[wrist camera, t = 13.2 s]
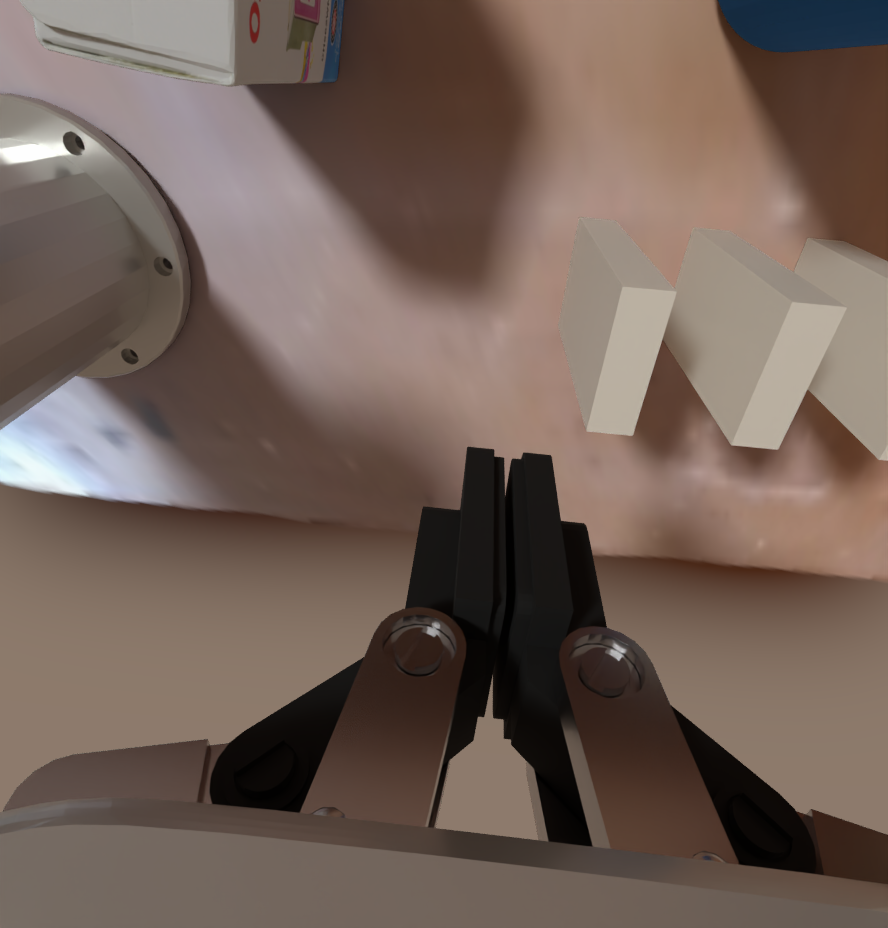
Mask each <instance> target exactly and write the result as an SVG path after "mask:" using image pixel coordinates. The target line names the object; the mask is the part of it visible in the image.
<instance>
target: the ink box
mask: <svg viewBox="0 0 888 928" xmlns="http://www.w3.org/2000/svg"><path fill="white" fill-rule="evenodd" d="M20 2H21V4H22V5H23V6H24V8H25V9H26V10H27V11H28V12H29V13H30V14H31V15H32V16H33V18H34V26H35V33H36V37H37V39H38V40H39V42H40V43H41V45H42V46H43V47H44V48H46V49H48V50H51V51H55V52H59V53H63V54H67V55H71V56H75V57H79V58H83V59H88V60H92V61H96V62H101V63H105V64H109V65H114V66H119V67H123V68H128V69H133V70H137V71H142V72H147V73H152V74H156V75H161V76H166V77H171V78H176V79H183V80H189V81H196V82H203V83H210V84H218V85H222V86H239V85H248V84H281V83H293V84H296V83H321V82H335V81H336V80H337V78H338V67H339V57H340V46H341V35H342V22H343V11H344V0H20Z"/></svg>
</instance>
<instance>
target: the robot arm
mask: <svg viewBox="0 0 888 928" xmlns="http://www.w3.org/2000/svg"><path fill="white" fill-rule="evenodd" d="M82 141H83V143H84V145H83V143H82ZM168 260H169V261H170V262H171V265H172V266H171V265H170V264H169V262H168ZM190 289H191V278H190V271H189V264H188V256H187V253H186V250H185V247H184V244H183V240H182V237H181V234H180V231H179V228H178V226H177V224H176V222H175V220H174V218H173V216H172V214H171V212H170V210H169V208H168V206H167V204H166V202H165V201H164V199H163V198H162V196H161V195H160V193H159V192H158V190H157V189H156V188H155V186H154V185H153V183H152V182H151V180H150V179H149V177H148V176H147V175H146V174H145V172H144V171H143V170H142V169H141V168H140V167H139V166H138V165H137V164H136V163H135V161H134V160H133V159H132V158H131V157H130V156H129V155H128V154H127V153H126V152H125V150H123V149H122V148H121V147H120V146H118V145H117V144H116V143H115V142H114V141H112V140H111V139H110V138H109V137H108V136H106V135H105V134H104V133H103V132H102V131H100V130H99V129H98V128H96V127H95V126H93V125H91V124H90V123H88V122H86V121H85V120H83V119H81V118H80V117H78V116H77V115H75V114H73V113H72V112H70V111H68V110H65V109H63V108H60V107H58V106H55V105H53V104H50V103H48V102H45V101H43V100H40V99H36V98H31V97H26V96H21V95H16V94H11V93H10V94H0V430H1V429H3V428H4V427H5V426H7V425H8V424H9V423H11V422H12V421H14V420H15V419H16V418H18V417H19V416H21V415H22V414H23V413H25V412H26V411H27V410H29V409H30V408H32V407H33V406H34V405H36V404H37V403H39V402H40V401H41V400H43V399H44V398H45V397H47V396H48V395H50V394H51V393H52V392H54V391H55V390H57V389H58V388H59V387H61V386H62V385H63V384H65V383H66V382H68V381H69V380H70V379H72V378H73V377H75V376H80V377H85V378H110V377H116V376H121V375H126V374H130V373H132V372H134V371H137V370H139V369H141V368H143V367H146V366H147V365H148V364H150V363H151V362H152V361H154V360H155V359H156V358H158V357H159V356H160V355H161V354H162V353H163V352H164V351H165V350H166V349H167V348H168V347H169V346H170V345H171V344H172V343H173V342H174V341H175V339H176V338H177V336H178V334H179V332H180V331H181V329H182V327H183V325H184V323H185V319H186V316H187V312H188V309H189V305H190ZM492 675H493V718H496V719H504V739H511V745H512V746H513V747H514V748H515V749H516V750H517V751H518V752H519V753H520V755H521V756H522V757H523V758H524V759H525V760H526V761H527V763H526V771H527V780H528V786H529V791H530V796H531V802H532V807H533V812H534V818H535V823H536V828H537V834H538V839H539V840H530V839H522V838H514V837H505V836H496V835H488V834H480V833H471V832H463V831H454V830H446V829H437V828H436V823H437V819H438V815H439V811H440V806H441V802H442V797H443V792H444V788H445V784H446V779H447V775H448V770H449V765H450V759H452V758H453V757H454V756H455V755H456V754H458V753H459V752H460V751H461V750H462V749H464V748H465V747H466V746H467V745H468V744H470V743H471V742H472V741H473V740H474V734H475V729H476V724H477V718H478V717H484V715H485V711H486V706H487V700H488V695H489V690H490V685H491V680H492ZM0 928H888V835H887V834H883V833H881V832H878V831H875V830H872V829H869V828H866V827H863V826H860V825H857V824H854V823H851V822H848V821H845V820H842V819H839V818H837V817H833V816H831V815H828V814H824V813H822V812H819V811H816V810H813V809H811V810H810V811H809V812H808V813H807V814H803V813H800V812H797V811H795V809H794V808H793V807H792V806H791V805H790V804H789V803H788V802H787V801H786V800H785V799H784V798H783V797H782V796H781V795H780V794H779V793H778V792H776V791H775V790H774V789H773V788H771V787H770V786H769V785H768V784H767V783H765V782H764V781H763V780H762V779H760V778H759V777H758V776H756V774H754V773H753V772H752V771H751V770H749V769H748V768H747V767H746V766H744V765H743V764H742V763H741V762H740V761H738V760H737V759H736V758H735V757H733V756H732V755H731V754H730V753H729V752H727V751H726V750H725V749H724V748H723V747H721V746H720V745H719V744H718V743H716V742H715V741H714V740H713V739H712V738H710V737H709V736H708V735H706V734H705V733H704V732H703V731H702V730H701V729H699V728H698V727H697V726H695V725H694V724H693V723H692V722H691V721H689V720H688V719H687V718H686V717H684V716H683V715H682V714H681V713H680V712H678V711H677V710H676V709H675V708H673V707H672V706H671V705H670V703H669V701H668V698H667V696H666V694H665V692H664V689H663V687H662V684H661V682H660V680H659V677H658V675H657V673H656V670H655V668H654V666H653V664H652V662H651V660H650V659H649V657H648V655H647V654H646V652H645V651H644V650H643V649H642V648H641V647H640V646H639V645H638V644H637V643H636V642H635V641H633V640H632V639H630V638H629V637H627V636H625V635H624V634H622V633H620V632H617V631H614V630H612V629H609V628H607V626H606V621H605V616H604V611H603V606H602V601H601V596H600V591H599V586H598V581H597V576H596V571H595V566H594V561H593V556H592V550H591V545H590V540H589V535H588V531H587V527H586V525H585V524H584V523H575V522H565V521H561V519H560V512H559V505H558V498H557V491H556V484H555V477H554V470H553V463H552V457H551V455H543V454H533V453H523V455H522V459H512V461H511V465H510V471H509V477H508V483H507V489H506V495H505V475H504V458H502V457H494V449H485V448H475V447H467V454H466V463H465V472H464V481H463V489H462V498H461V507H460V510H451V509H442V508H432V507H423V509H422V515H421V520H420V526H419V532H418V538H417V543H416V549H415V555H414V561H413V567H412V572H411V578H410V584H409V590H408V595H407V601H406V607H405V609H402V610H400V611H398V612H395V613H393V614H391V615H389V616H388V617H387V618H386V619H385V620H383V621H382V622H381V623H380V625H379V626H378V628H377V629H376V631H375V633H374V635H373V637H372V639H371V642H370V644H369V647H368V649H367V652H366V654H365V657H363V658H362V659H361V660H359V661H357V662H355V663H354V664H352V665H351V666H349V667H347V668H346V669H344V670H342V671H341V672H339V673H338V674H336V675H334V676H333V677H331V678H330V679H328V680H326V681H325V682H323V683H321V684H320V685H318V686H317V687H315V688H313V689H312V690H310V691H309V692H307V693H305V694H304V695H302V696H300V697H299V698H297V699H296V700H294V701H292V702H291V703H289V704H288V705H286V706H284V707H283V708H281V709H279V710H278V711H276V712H275V713H273V714H271V715H270V716H268V717H267V718H265V719H263V720H262V721H260V722H258V723H257V724H255V725H254V726H252V727H250V728H249V729H247V730H246V731H244V732H243V733H241V734H240V735H239V736H238V737H236V738H235V739H234V740H233V741H231V742H230V743H226V744H217V745H210V744H209V741H208V739H204V740H197V741H196V740H195V741H187V742H178V743H170V744H160V745H152V746H143V747H135V748H126V749H117V750H108V751H101V752H100V751H99V752H91V753H82V754H74V755H70V756H66V757H63V758H59V759H55V760H53V761H51V762H49V763H48V764H46V765H44V766H43V767H41V768H39V769H37V770H36V771H34V772H33V773H32V774H31V775H30V776H29V777H27V778H26V779H25V780H24V781H23V782H22V783H21V784H20V785H19V786H18V787H17V788H16V790H15V791H14V793H13V794H12V796H11V797H10V799H9V801H8V802H7V804H6V806H5V807H4V810H3V812H0Z"/></svg>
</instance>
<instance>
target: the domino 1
mask: <svg viewBox="0 0 888 928" xmlns="http://www.w3.org/2000/svg"><path fill="white" fill-rule="evenodd" d="M676 293H677V291H676V290H675V289H674V288H673V286H672V285H671V284H670V283H669V282H668V281H667V279H666V278H665V277H664V276H663V275H662V274H661V273H660V271H659V270H658V269H657V268H656V267H655V266H654V264H653V263H652V262H651V261H650V260H649V259H648V257H647V256H646V255H645V254H644V253H643V252H642V250H641V249H640V248H639V247H638V246H637V245H636V243H635V242H634V241H633V240H632V239H631V238H630V237H629V235H628V234H627V233H626V232H625V231H624V230H623V228H622V227H621V226H620V225H619V224H618V223H617V221H616V220H606V219H595V218H584V217H579V221H578V226H577V231H576V236H575V241H574V246H573V252H572V257H571V262H570V267H569V272H568V277H567V283H566V288H565V293H564V298H563V303H562V308H561V314H560V319H559V324H558V327H559V331H560V335H561V339H562V342H563V346H564V350H565V354H566V357H567V361H568V365H569V369H570V372H571V376H572V380H573V384H574V387H575V391H576V395H577V398H578V402H579V406H580V410H581V413H582V417H583V421H584V425H585V428H586V431H588V432H598V433H609V434H619V435H629V436H633V433H634V430H635V427H636V423H637V420H638V417H639V414H640V410H641V407H642V404H643V401H644V397H645V394H646V391H647V388H648V384H649V381H650V378H651V375H652V371H653V368H654V365H655V362H656V358H657V355H658V352H659V349H660V345H661V342H662V339H663V336H664V332H665V329H666V326H667V323H668V319H669V316H670V313H671V310H672V306H673V303H674V300H675V297H676Z"/></svg>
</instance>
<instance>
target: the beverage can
mask: <svg viewBox="0 0 888 928" xmlns="http://www.w3.org/2000/svg"><path fill="white" fill-rule="evenodd" d="M718 2H719V4H720V7H721V10H722V12H723V14H724V16H725V18H726V20H727V21H728V23H729V24H730V26H731V27H732V28H733V29H734V31H735V32H736V33H737V34H738V35H739V36H740V37H742V38H743V39H744V40H745V41H747V42H749V43H750V44H752V45H753V46H756V47H758V48H761V49H764V50H768V51H773V52H797V51H809V50H822V49H834V48H847V47H859V46H872V45H884V44H888V0H718Z"/></svg>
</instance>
